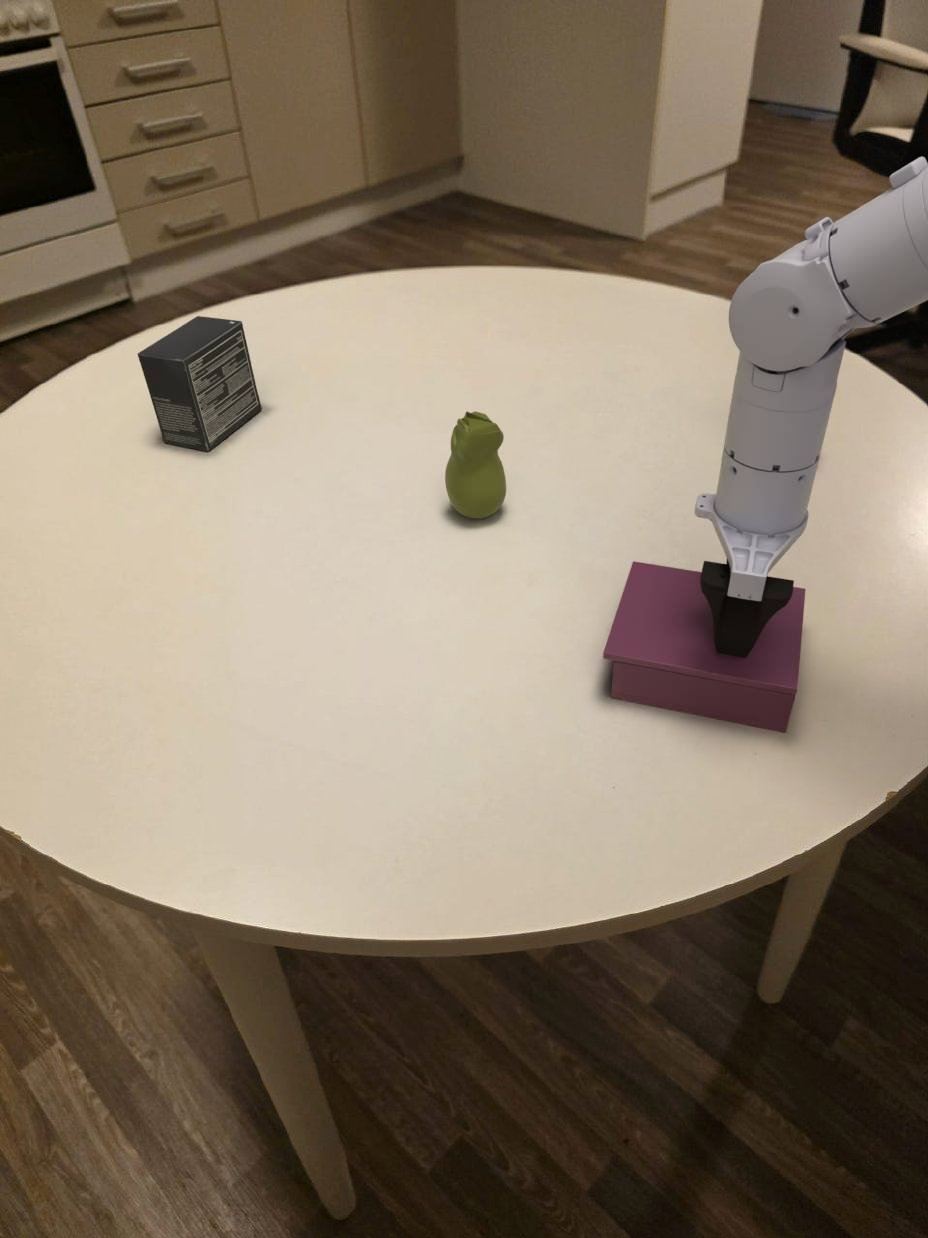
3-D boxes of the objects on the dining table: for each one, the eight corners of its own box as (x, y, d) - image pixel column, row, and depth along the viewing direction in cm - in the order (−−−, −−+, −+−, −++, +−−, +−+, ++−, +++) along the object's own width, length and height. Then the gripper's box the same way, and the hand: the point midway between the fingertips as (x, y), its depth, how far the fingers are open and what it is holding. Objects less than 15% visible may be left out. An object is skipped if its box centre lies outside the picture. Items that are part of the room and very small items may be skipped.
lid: (602, 658, 63) (606, 612, 61) (632, 566, 71) (636, 522, 69) (795, 695, 60) (808, 648, 57) (804, 594, 68) (815, 549, 65)
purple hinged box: (610, 697, 66) (613, 661, 63) (638, 604, 74) (642, 569, 71) (785, 733, 62) (795, 696, 60) (794, 631, 70) (804, 595, 68)
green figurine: (486, 491, 88) (483, 396, 81) (518, 515, 84) (517, 418, 78) (437, 510, 85) (430, 414, 79) (468, 535, 82) (464, 437, 76)
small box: (217, 400, 105) (196, 312, 99) (264, 409, 103) (246, 319, 96) (160, 443, 98) (133, 350, 91) (209, 453, 96) (185, 359, 89)
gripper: (719, 390, 62) (694, 551, 71) (689, 501, 51) (664, 673, 60) (827, 401, 60) (788, 565, 69) (819, 519, 50) (774, 694, 58)
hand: (737, 617), depth 64 cm, fingers open, 7 cm apart
